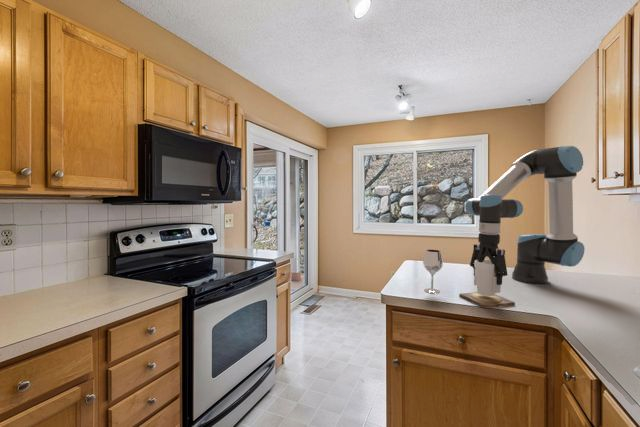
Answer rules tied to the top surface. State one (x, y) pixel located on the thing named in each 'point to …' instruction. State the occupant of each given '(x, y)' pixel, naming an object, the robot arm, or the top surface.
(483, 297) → the stand board
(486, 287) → the foam cup
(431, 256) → the wineglass
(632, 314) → the top surface
